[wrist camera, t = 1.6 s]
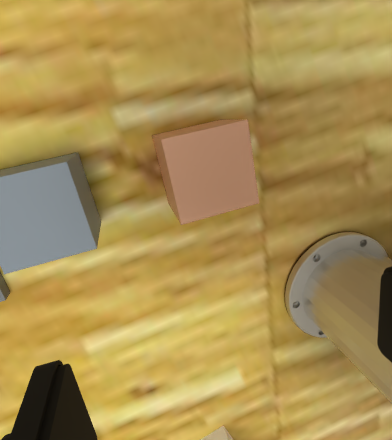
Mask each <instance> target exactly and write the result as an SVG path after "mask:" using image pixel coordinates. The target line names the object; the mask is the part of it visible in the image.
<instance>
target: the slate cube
mask: <svg viewBox="0 0 392 440" xmlns="http://www.w3.org/2000/svg"><path fill="white" fill-rule="evenodd" d="M100 226H101V220H100V217H99V214H98V211H97V208H96V205H95V202H94V199H93V196H92V193H91V190H90V187H89V184H88V181H87V178H86V175H85V172H84V169H83V166H82V163H81V160H80V157H79V154H78V152H77V153H73V154H68V155H64V156H59V157H55V158H51V159H46V160H42V161H37V162H33V163H29V164H24V165H20V166H15V167H11V168H7V169H2V170H0V266H1V268H2V270H3V272H4V274H7V273H10V272H14V271H18V270H21V269H25V268H28V267H32V266H36V265H39V264H43V263H46V262H50V261H54V260H57V259H61V258H64V257H68V256H72V255H75V254H79V253H82V252H86V251H90V250H93V249H97V245H98V238H99V232H100Z"/></svg>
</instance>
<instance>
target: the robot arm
mask: <svg viewBox="0 0 392 440" xmlns="http://www.w3.org/2000/svg"><path fill="white" fill-rule="evenodd" d="M285 303H286V308H287V311H288V314H289V316H290V317H291V319H292V320H293V322H294V323H295V324H296V325H297V326H298V327H299V328H300V329H301V330H302V331H304V332H305V333H307V334H309V335H312V336H315V337H321V338H323V337H328V338H329V339H330V340H331V341H332V342H333V343H334V344H335V345H336V346H337V347H338V348H339V349H340V350H341V351H342V353H343V354H344V355H345V356H346V357H347V358H348V359H349V360H350V361H351V362H352V363H353V364H354V365H355V366H356V367H357V368H358V369H359V370H360V371H361V372H362V373H363V374H364V375H365V376H366V377H367V378H368V379H369V380H370V382H371V383H372V384H373V385H374V386H375V387H376V388H377V389H378V390H379V391H380V392H381V393H382V394H383V395H384V396H385V397H386V398H387V399H388V400H389V401H390V402H391V403H392V259H390V258H388V255H387V253H386V251H385V250H384V248H383V247H382V245H380V244H379V243H378V242H377V241H376V240H374V239H372V238H370V237H368V236H366V235H363V234H360V233H356V232H343V233H337V234H334V235H331V236H328V237H326V238H324V239H322V240H320V241H319V242H317V243H316V244H314V245H313V246H312V247H310V248H309V249H308V250H307V251H306V252H305V253H304V254H303V255H302V256H301V258H300V259H299V260H298V262H297V263H296V264H295V266H294V268H293V270H292V272H291V274H290V276H289V279H288V282H287V285H286V292H285ZM2 440H97V436H96V433H95V430H94V427H93V425H92V422H91V419H90V417H89V414H88V411H87V409H86V406H85V403H84V400H83V398H82V395H81V392H80V390H79V387H78V384H77V382H76V379H75V376H74V374H73V371H72V368H71V366H70V365H69V364H65V365H63V364H62V362H61V361H60V360H58V361H54V362H50V363H47V364H43V365H40V366H37V367H35V369H34V370H33V373H32V376H31V379H30V381H29V384H28V387H27V390H26V393H25V396H24V398H23V401H22V404H21V407H20V410H19V413H18V415H17V418H16V421H15V424H14V427H13V430H12V432H11V433H10V434H7V435H5V436H4V437H3V438H2Z"/></svg>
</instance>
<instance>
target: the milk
mask: <svg viewBox="0 0 392 440" xmlns="http://www.w3.org/2000/svg"><path fill="white" fill-rule="evenodd" d="M200 440H233V438H232V437H231V435H230V434H229V432H228V431H227V430H226V428H225V427H224V425H223V426H222V427H220V428H218V429H217V430H215V431H213V432H212V433H210V434H209V435H207V436H205V437H204V438H202V439H200Z"/></svg>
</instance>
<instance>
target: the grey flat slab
mask: <svg viewBox="0 0 392 440" xmlns="http://www.w3.org/2000/svg"><path fill="white" fill-rule="evenodd" d="M9 294H10V291H9V289H8V287H7V285H6V283H5V281H4V279H3V277H2V275H1V273H0V302H1V301H4V300H6V299H7V297H8V295H9Z"/></svg>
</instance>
